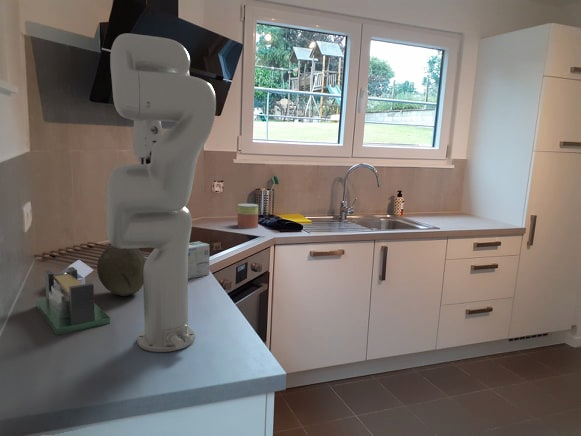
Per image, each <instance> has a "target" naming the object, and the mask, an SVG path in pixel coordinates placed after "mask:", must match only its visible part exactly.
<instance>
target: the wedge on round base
mask: <svg viewBox="0 0 581 436" xmlns="http://www.w3.org/2000/svg"><path fill="white" fill-rule="evenodd" d="M69 267H74V268H75V269H76V270H77V279H78V281H79V282H80V283H82V284H86V277H87V276H89V274H91V273H92V272H93V271H94V269H93V268H92V267H91V266H89V265H88V264H86V263H84V262H83V261H81V260H80V259H78V260H76V261H74V262H73V263H71V264H70V265H69V266H67V267H65V268H64V269H62V270H61V271H60V272H59V273H65V272H69V270H68V268H69ZM54 285H55V286H56V288H57V289H58V290H60V286H59V285H58V283H57V282H56V281H55V280H54Z"/></svg>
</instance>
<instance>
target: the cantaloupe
mask: <svg viewBox="0 0 581 436" xmlns="http://www.w3.org/2000/svg"><path fill="white" fill-rule="evenodd" d="M146 260H147V258H145V256H144V254H143V252H142V251H141V249H140V248H130V249H120V248H116V247H114V246H113V245H112V244H111V245H110V246H108V247H106V248H105V249H104V251H102V252H101V255H100V256H99V258H98V260H97V264H96V266H97V267H96V271H97V277H98V280H99V281H100V283H101V285H103V286H104V288H105V289H106V290H107V291H108V292H110V293H112V294H114V295H118V296H120V297H127V296H132V295H134V294H137V292H139V291H140V290H141V289H142V288H143V287H144V281H143V280H144V278H143V269H144V264H145V262H146Z"/></svg>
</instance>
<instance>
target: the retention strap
mask: <svg viewBox="0 0 581 436" xmlns="http://www.w3.org/2000/svg"><path fill="white" fill-rule="evenodd" d="M53 275H54V280H55V281H56V282H57V283H58V285H59V286H60V287H61V288H62V289H63V290H64V291H65V292H66V293H67V294H68V295H69V296H70V294H69V287H70V286H77V285H82V284H81V283H80V282H79V281H78V280H76V279H75V278H74V277H73V276H72V275H71V274H70V272H65V273H60V272H57V273H53Z"/></svg>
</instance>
